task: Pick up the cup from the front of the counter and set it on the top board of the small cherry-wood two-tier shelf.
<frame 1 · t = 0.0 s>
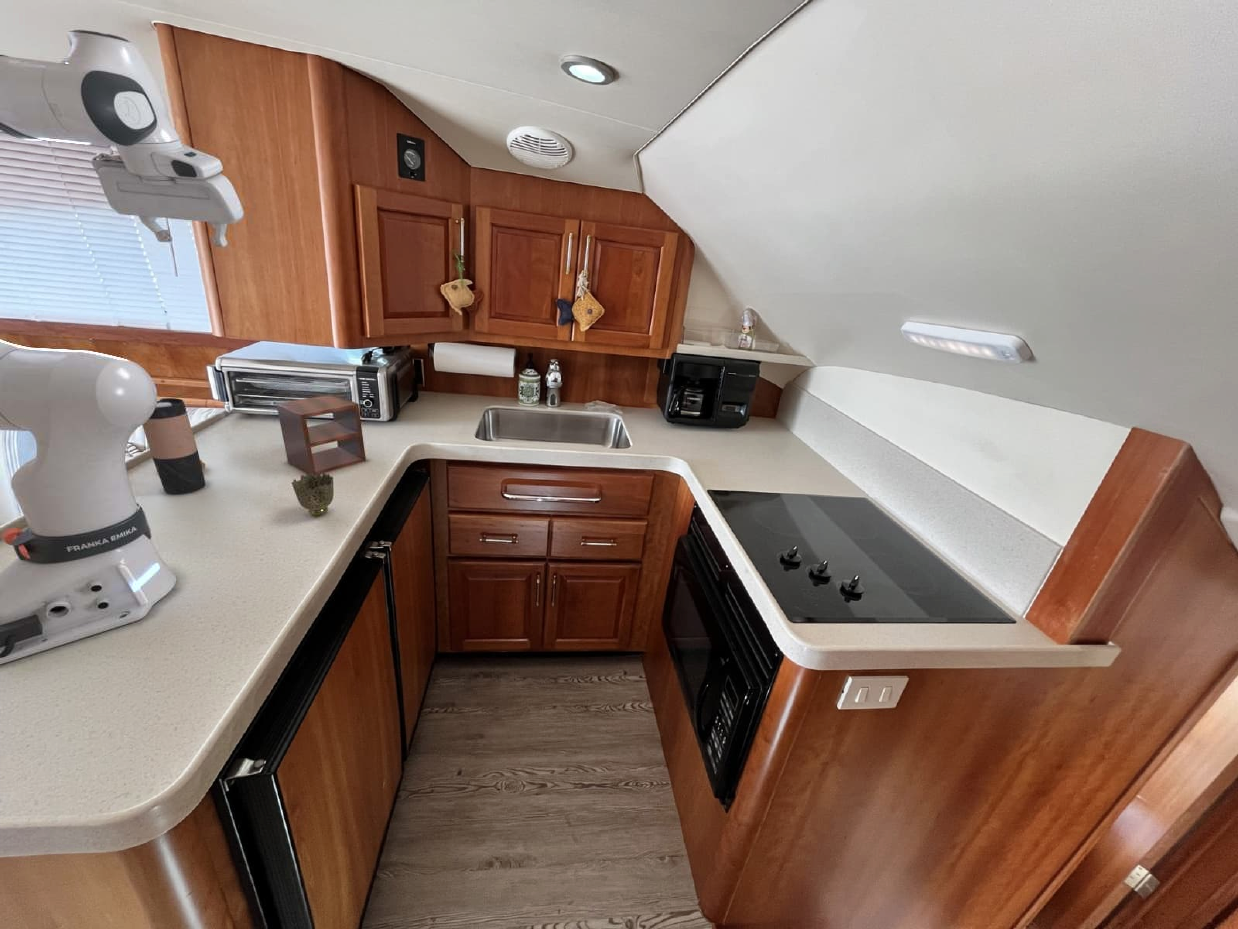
hand: (193, 243, 92), 52 cm above the table, tool tilted 20°, fingers open, 8 cm apart
travel mug: (185, 488, 111), on the table
pastry: (183, 471, 119), on the table
cup: (319, 513, 106), on the table
shelf: (327, 462, 130), on the table
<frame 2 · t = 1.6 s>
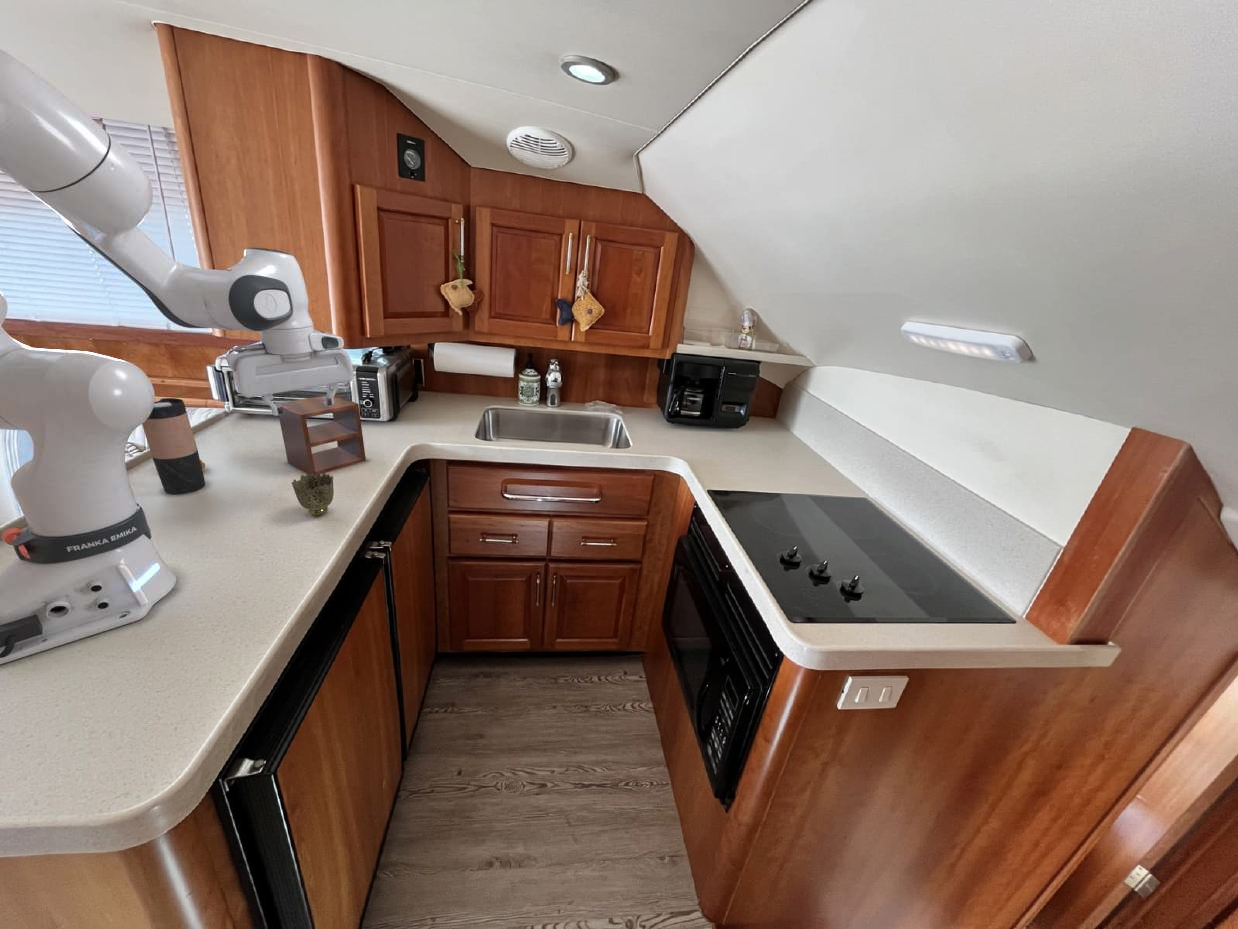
hand: (304, 409, 99), 22 cm above the table, tool pointing down, fingers open, 8 cm apart
nothing on the table moved.
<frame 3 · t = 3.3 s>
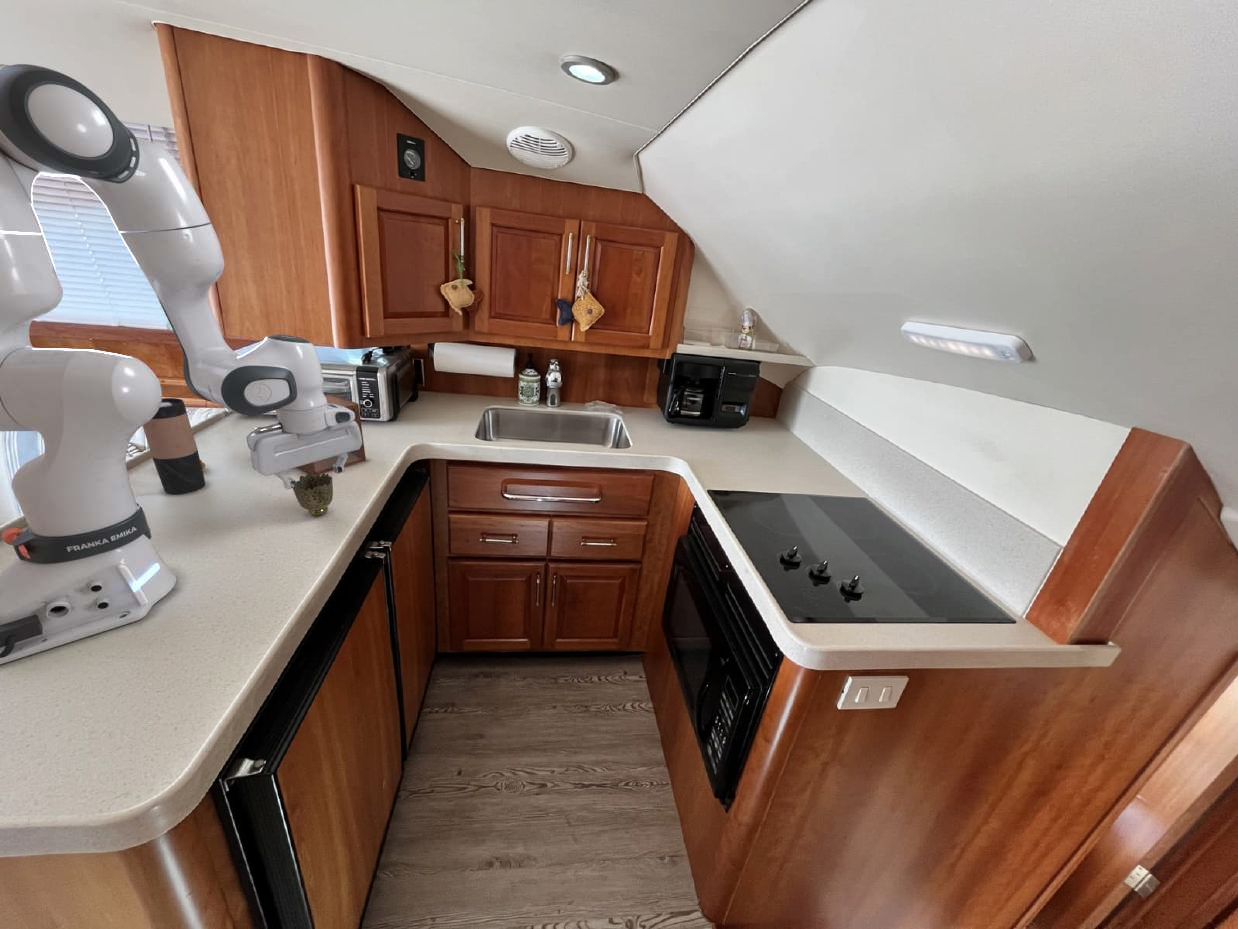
hand: (315, 479, 103), 8 cm above the table, tool pointing down, fingers open, 8 cm apart
cup: (319, 513, 106), on the table, touching gripper
everything else where it was.
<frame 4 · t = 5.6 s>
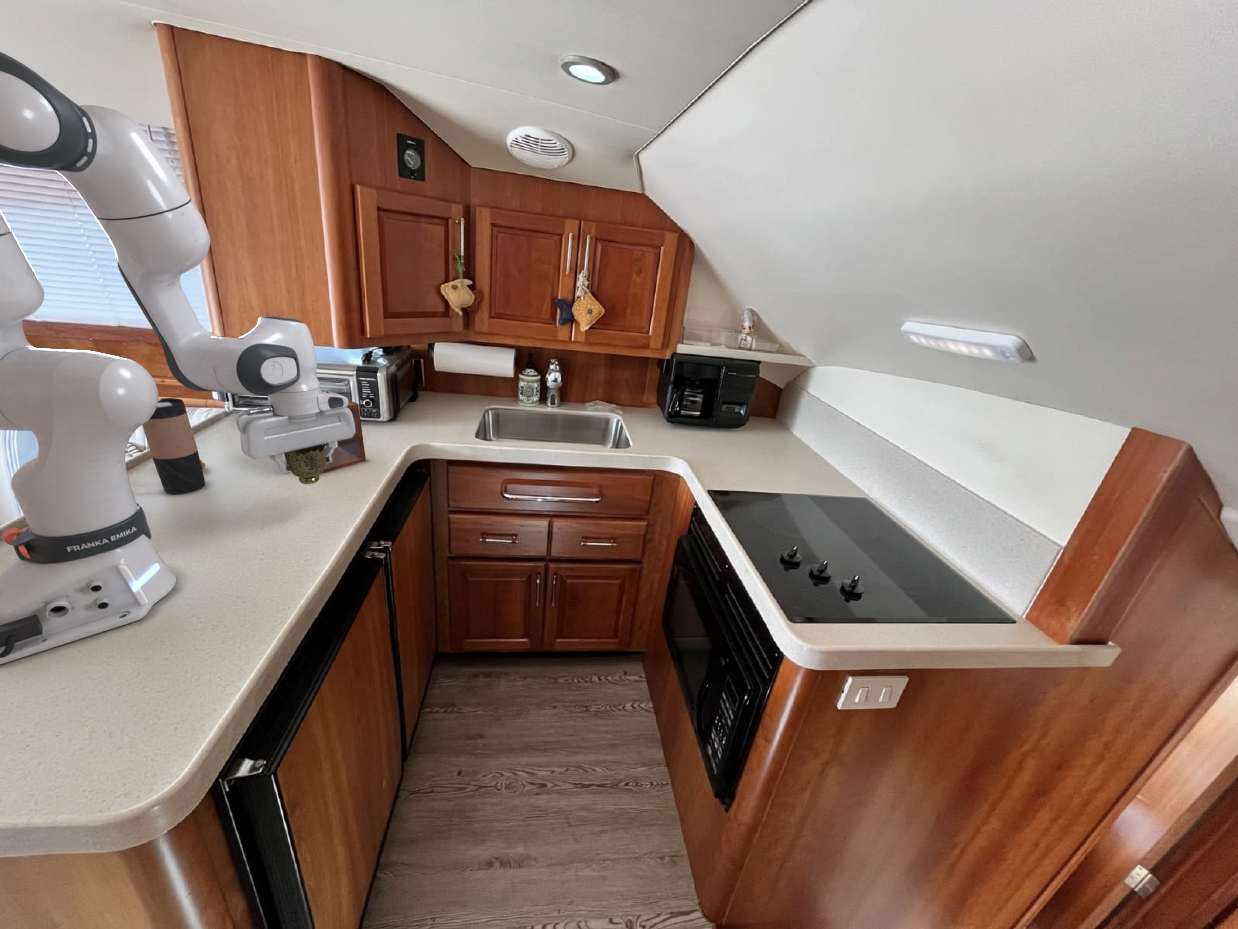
hand: (307, 467, 101), 11 cm above the table, tool pointing down, fingers closed on cup, 6 cm apart
cup: (309, 482, 102), point 8 cm above the table, touching gripper
everything else where it was.
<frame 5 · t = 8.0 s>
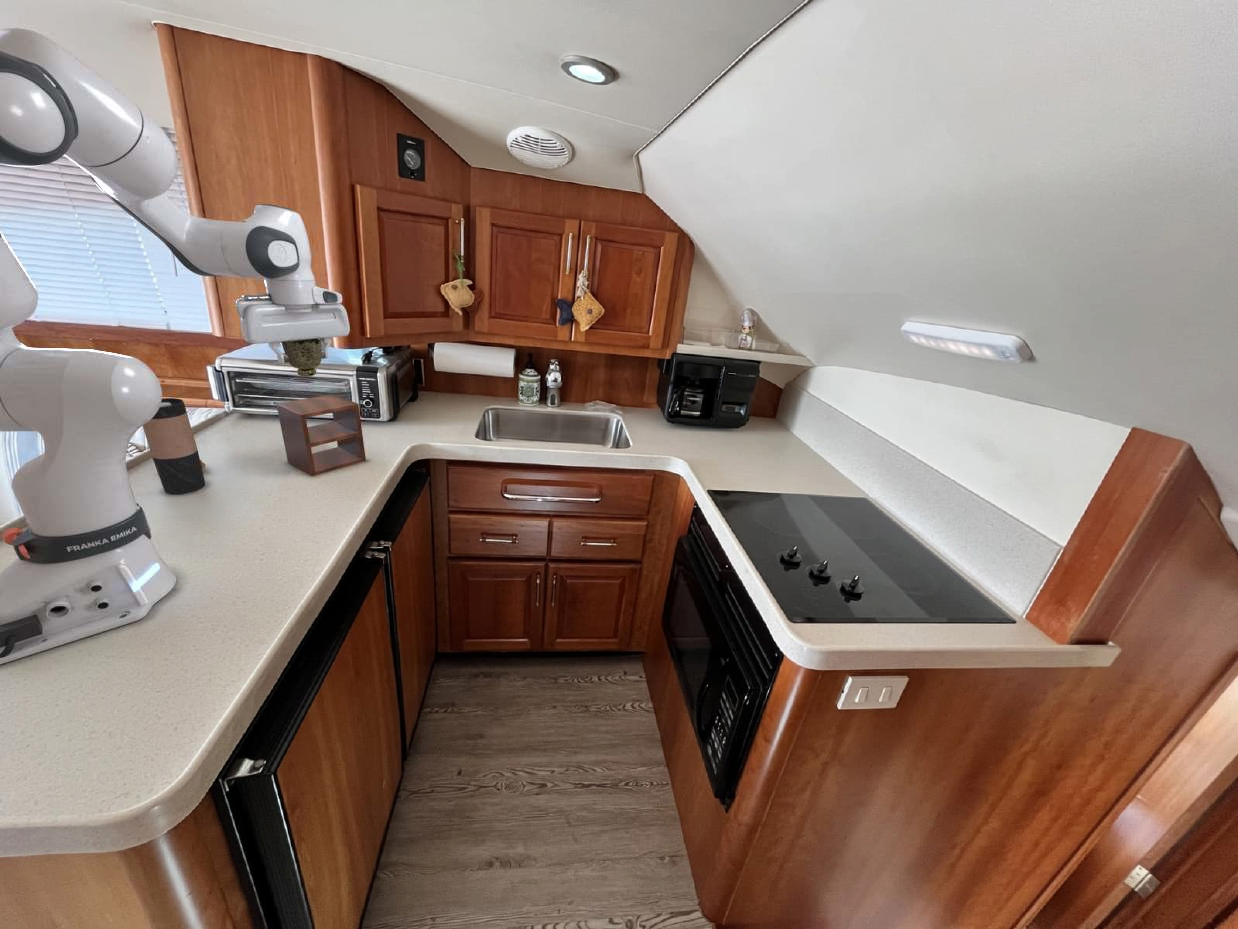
hand: (304, 360, 107), 30 cm above the table, tool pointing down, fingers closed on cup, 6 cm apart
cup: (307, 375, 108), point 26 cm above the table, touching gripper
everything else where it was.
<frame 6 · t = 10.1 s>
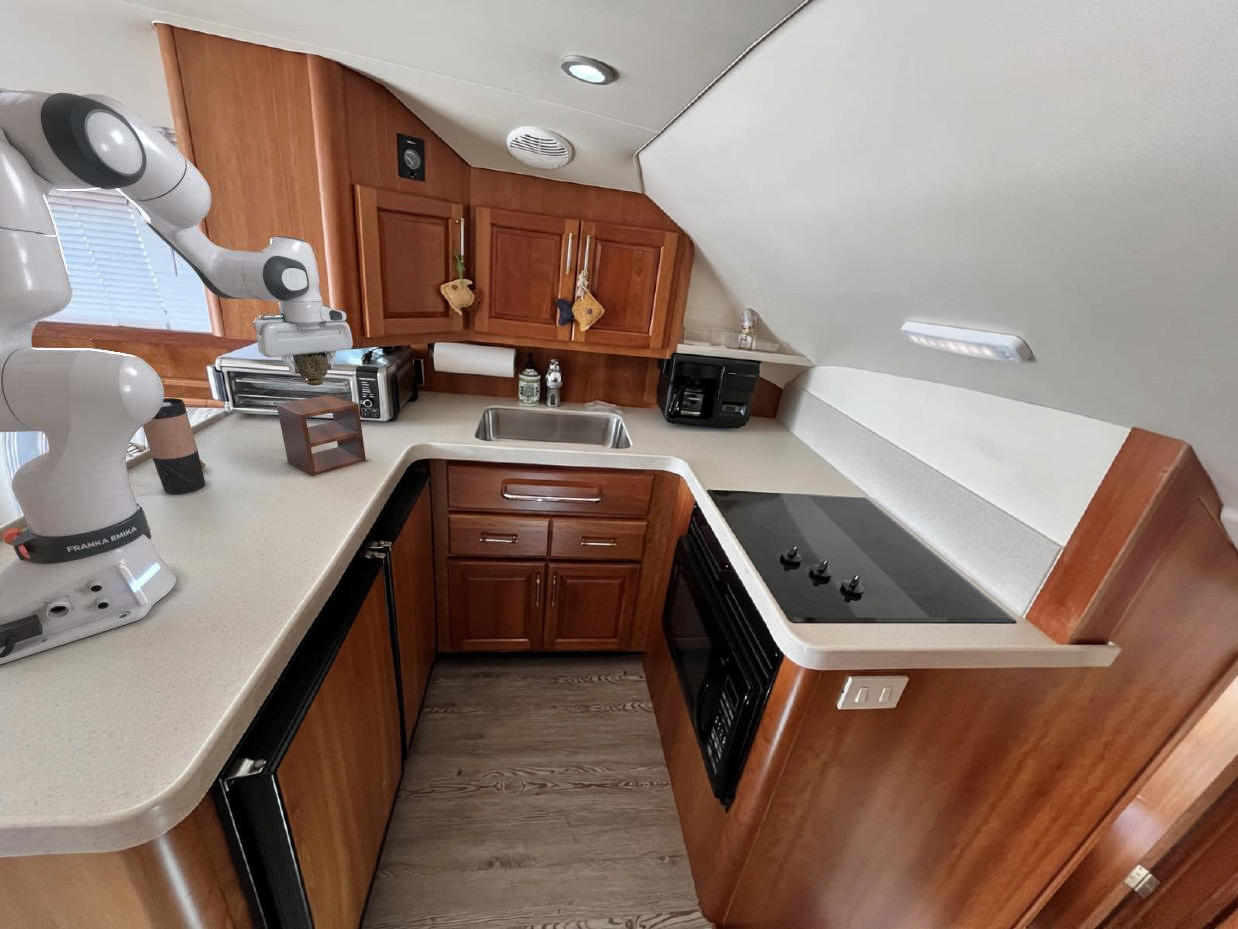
hand: (312, 371, 120), 24 cm above the table, tool pointing down, fingers closed on cup, 6 cm apart
cup: (315, 385, 121), point 21 cm above the table, touching gripper
everything else where it was.
when the fingers open (19 cm above the table, at t = 11.9 s): cup stays where it is, resting on shelf.
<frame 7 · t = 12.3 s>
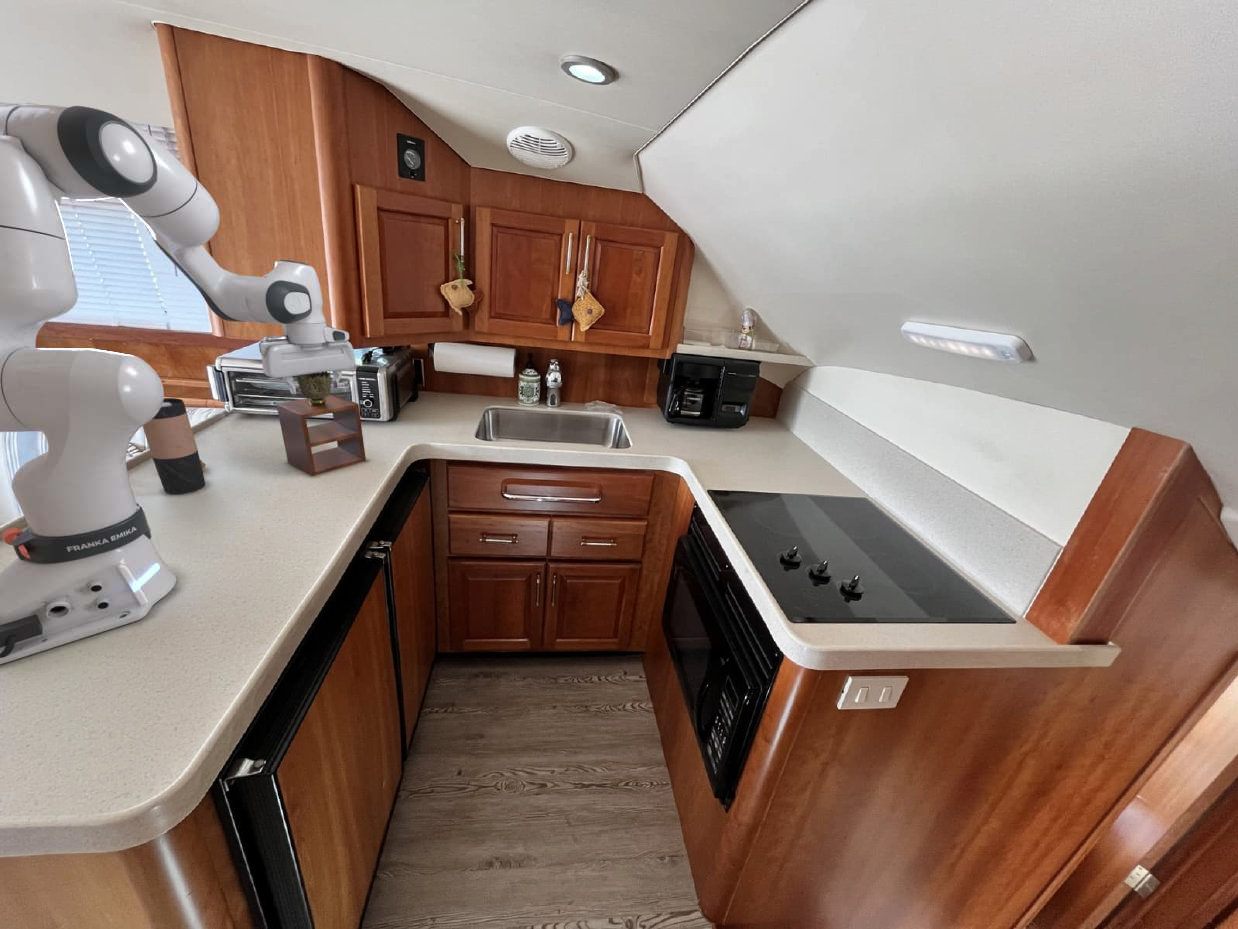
hand: (315, 390, 122), 19 cm above the table, tool pointing down, fingers open, 8 cm apart
cup: (318, 404, 123), point 16 cm above the table, touching shelf
everything else where it was.
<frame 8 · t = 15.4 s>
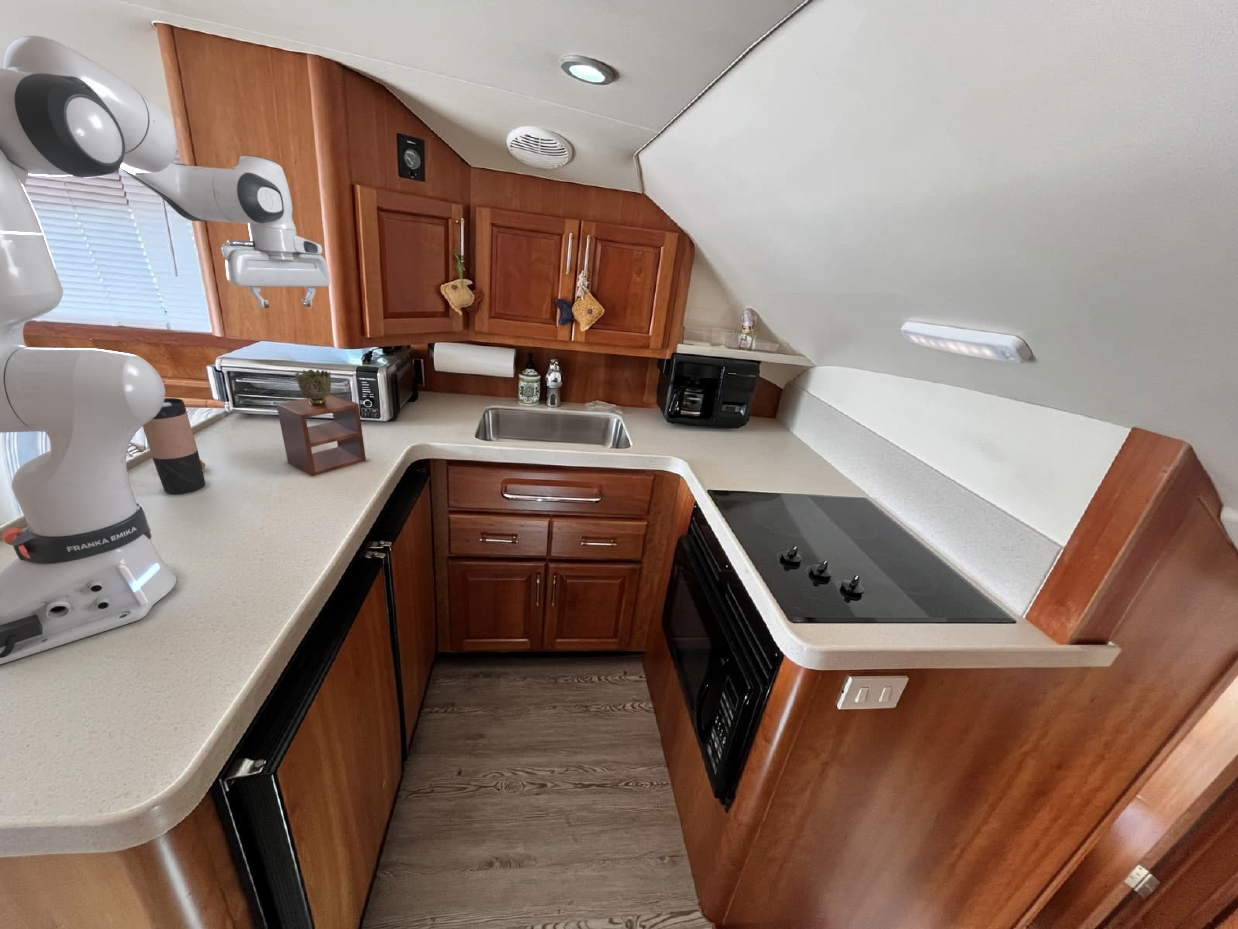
hand: (286, 307, 114), 39 cm above the table, tool pointing down, fingers open, 8 cm apart
nothing on the table moved.
at the end: cup inside the target area on the shelf (0.4 cm from its centre), point 15.8 cm above the shelf's base; cup tilted 0°; the gripper is holding nothing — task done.
